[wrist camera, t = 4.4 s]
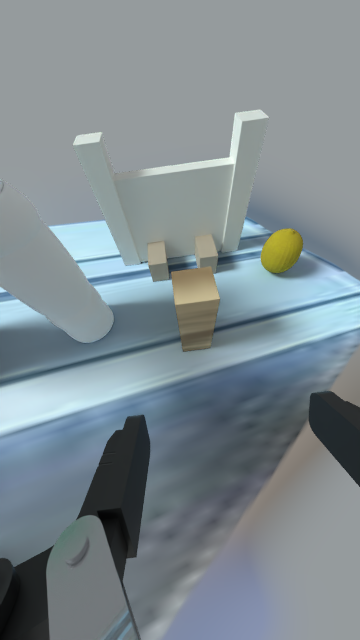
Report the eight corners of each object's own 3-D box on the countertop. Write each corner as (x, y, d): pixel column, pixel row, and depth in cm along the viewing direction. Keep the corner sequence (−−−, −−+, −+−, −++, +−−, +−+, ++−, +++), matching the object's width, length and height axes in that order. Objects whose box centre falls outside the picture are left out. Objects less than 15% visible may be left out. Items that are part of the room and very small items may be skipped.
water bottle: (70, 315, 31) (-212, 70, 10) (110, 300, 32) (-64, 46, 11) (74, 351, 28) (-342, 99, 6) (119, 333, 29) (-108, 61, 7)
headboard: (244, 269, 34) (287, 133, 18) (124, 285, 34) (63, 165, 18) (233, 240, 38) (260, 109, 22) (126, 255, 38) (77, 135, 22)
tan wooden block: (210, 347, 27) (219, 298, 16) (182, 351, 27) (175, 304, 16) (204, 320, 29) (209, 262, 19) (179, 323, 29) (170, 267, 19)
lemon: (277, 287, 31) (301, 248, 24) (249, 272, 33) (263, 231, 26) (294, 268, 33) (320, 227, 26) (265, 255, 35) (283, 213, 28)
